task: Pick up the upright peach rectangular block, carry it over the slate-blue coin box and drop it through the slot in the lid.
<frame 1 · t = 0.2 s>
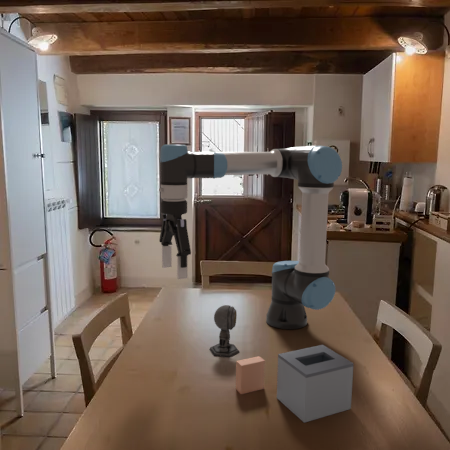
hand: (174, 272, 133), 28 cm above the table, fingers open, 13 cm apart
figurine: (224, 351, 146), on the table
coin box: (313, 403, 116), on the table
peach rectangular block: (249, 388, 122), on the table
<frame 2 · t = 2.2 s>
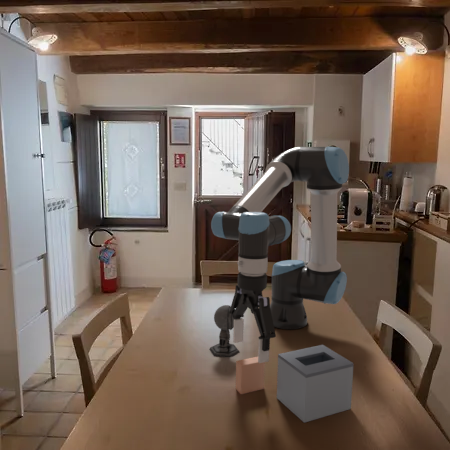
hand: (250, 351, 120), 11 cm above the table, fingers open, 13 cm apart
nothing on the table moved.
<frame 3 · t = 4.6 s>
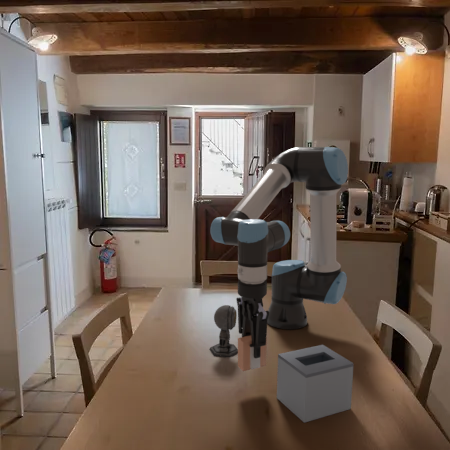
hand: (251, 364, 122), 7 cm above the table, fingers closed on peach rectangular block, 3 cm apart
peach rectangular block: (252, 365, 122), point 6 cm above the table, touching gripper
everything else where it was.
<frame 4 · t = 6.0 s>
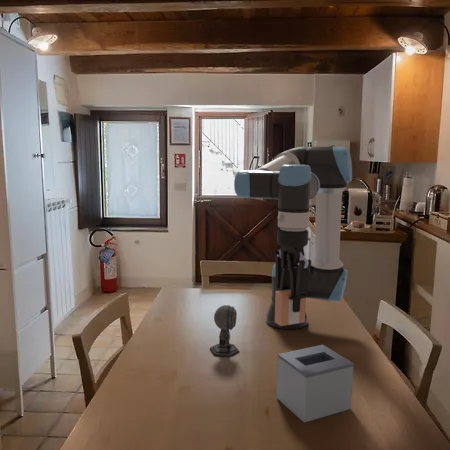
hand: (289, 320, 115), 21 cm above the table, fingers closed on peach rectangular block, 3 cm apart
peach rectangular block: (289, 322, 115), point 20 cm above the table, touching gripper
everything else where it was.
when the fingers open (14 cm above the table, at t = 7.6 s): peach rectangular block drops 12 cm, resting on coin box.
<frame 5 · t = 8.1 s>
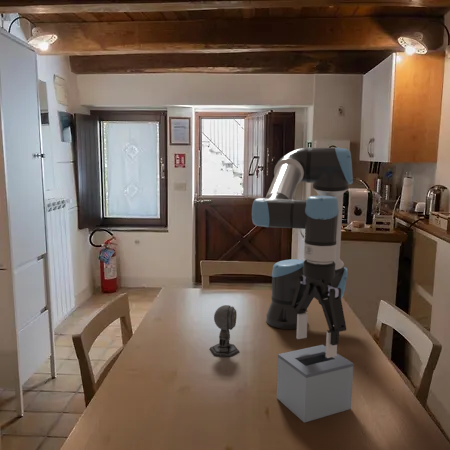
hand: (315, 346, 113), 15 cm above the table, fingers open, 11 cm apart
peach rectangular block: (313, 400, 116), point 1 cm above the table, touching coin box
everything else where it was.
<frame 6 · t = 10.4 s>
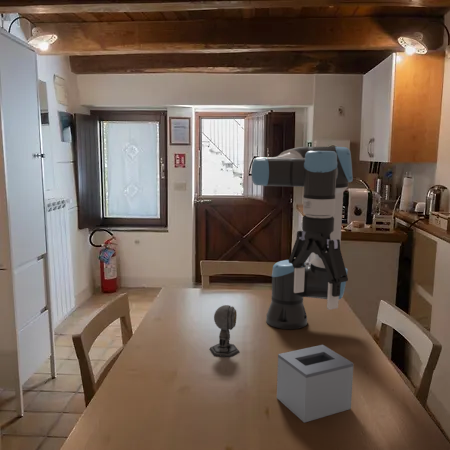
hand: (314, 300, 114), 26 cm above the table, fingers open, 13 cm apart
nothing on the table moved.
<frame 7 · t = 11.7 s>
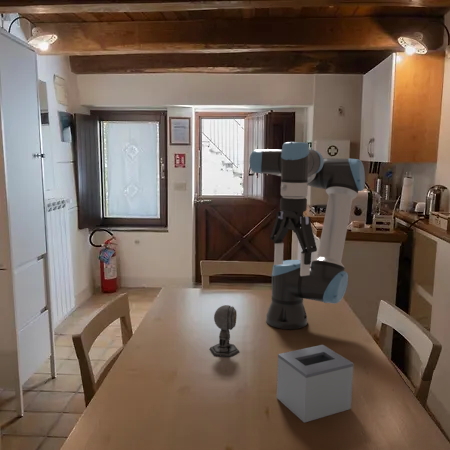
hand: (291, 269, 134), 29 cm above the table, fingers open, 13 cm apart
nothing on the table moved.
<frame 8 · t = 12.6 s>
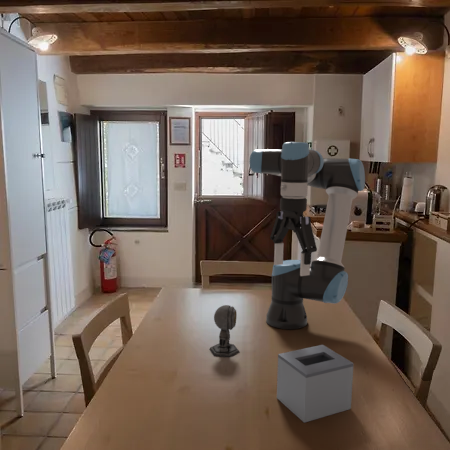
hand: (291, 269, 134), 29 cm above the table, fingers open, 13 cm apart
nothing on the table moved.
at the end: peach rectangular block inside the target area on the coin box (0.1 cm from its centre), point 0.8 cm above the coin box's base; the gripper is holding nothing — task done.
